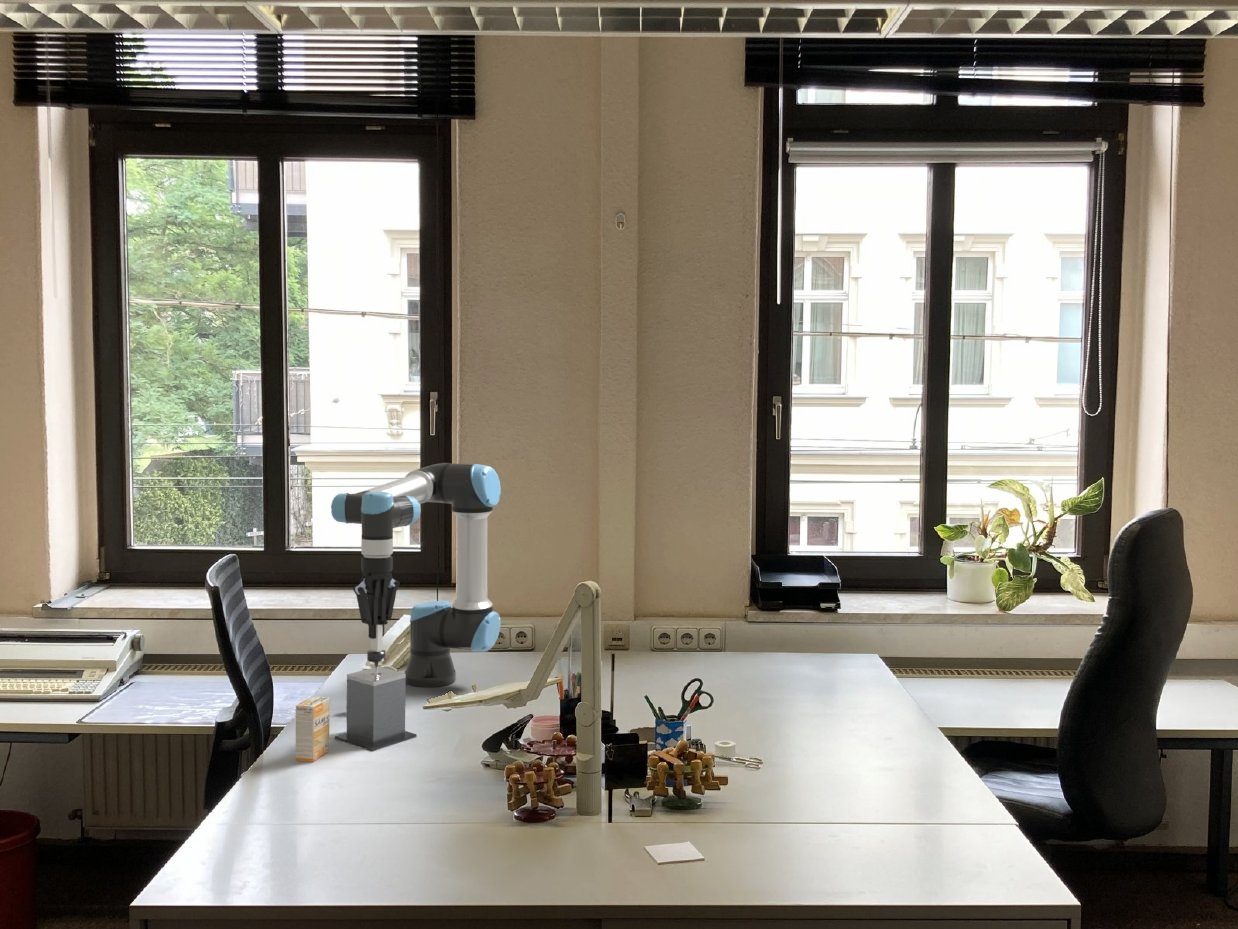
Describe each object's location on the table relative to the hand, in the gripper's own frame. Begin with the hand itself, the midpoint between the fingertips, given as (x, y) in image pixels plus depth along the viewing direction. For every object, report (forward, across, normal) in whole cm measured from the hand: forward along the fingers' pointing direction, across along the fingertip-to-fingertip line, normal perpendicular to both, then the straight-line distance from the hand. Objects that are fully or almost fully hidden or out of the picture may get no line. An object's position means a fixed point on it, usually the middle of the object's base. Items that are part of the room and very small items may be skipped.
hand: (376, 650), depth 263 cm
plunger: (+15, 0, 0) cm, 15 cm away
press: (+22, 0, 0) cm, 22 cm away
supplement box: (+22, +18, -1) cm, 28 cm away
